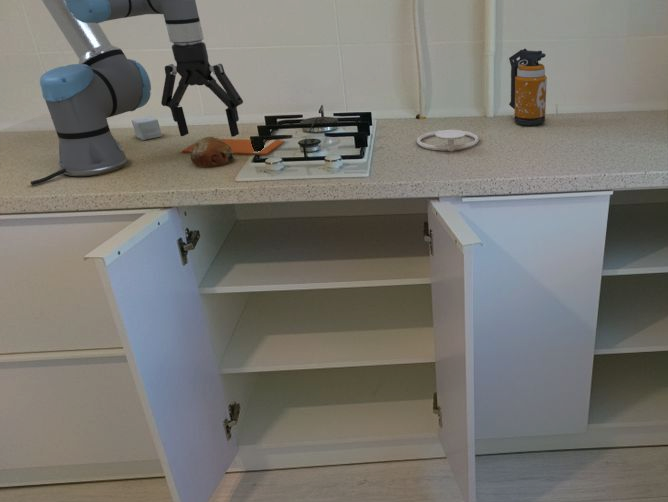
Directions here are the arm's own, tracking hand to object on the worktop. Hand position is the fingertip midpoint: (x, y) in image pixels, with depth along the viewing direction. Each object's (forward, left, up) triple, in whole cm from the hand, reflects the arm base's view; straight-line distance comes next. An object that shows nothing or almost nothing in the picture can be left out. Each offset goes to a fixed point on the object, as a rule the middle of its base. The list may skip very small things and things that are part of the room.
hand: (209, 135), depth 167 cm
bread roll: (0, 0, -7) cm, 7 cm away
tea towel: (+13, +1, -7) cm, 15 cm away
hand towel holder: (+21, -57, -7) cm, 61 cm away
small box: (+21, +31, -7) cm, 38 cm away
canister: (+45, -76, -7) cm, 88 cm away
